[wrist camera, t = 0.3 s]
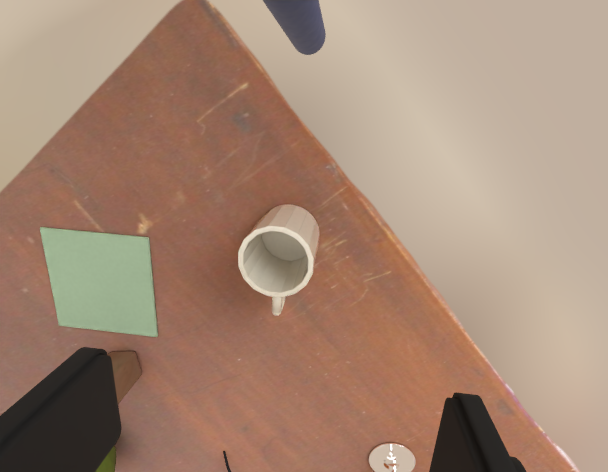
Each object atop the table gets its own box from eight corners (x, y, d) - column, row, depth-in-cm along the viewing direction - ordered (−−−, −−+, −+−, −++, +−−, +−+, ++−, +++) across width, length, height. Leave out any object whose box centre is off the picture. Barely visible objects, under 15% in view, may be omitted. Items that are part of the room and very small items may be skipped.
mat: (41, 226, 43) (39, 227, 43) (149, 237, 42) (147, 238, 42) (60, 324, 48) (58, 325, 47) (158, 335, 46) (157, 337, 46)
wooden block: (136, 349, 48) (96, 393, 40) (143, 374, 49) (106, 420, 41) (109, 350, 48) (65, 393, 41) (117, 374, 49) (76, 420, 42)
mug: (259, 201, 39) (237, 222, 31) (321, 206, 38) (316, 229, 30) (258, 282, 42) (238, 320, 34) (315, 288, 42) (308, 328, 34)
